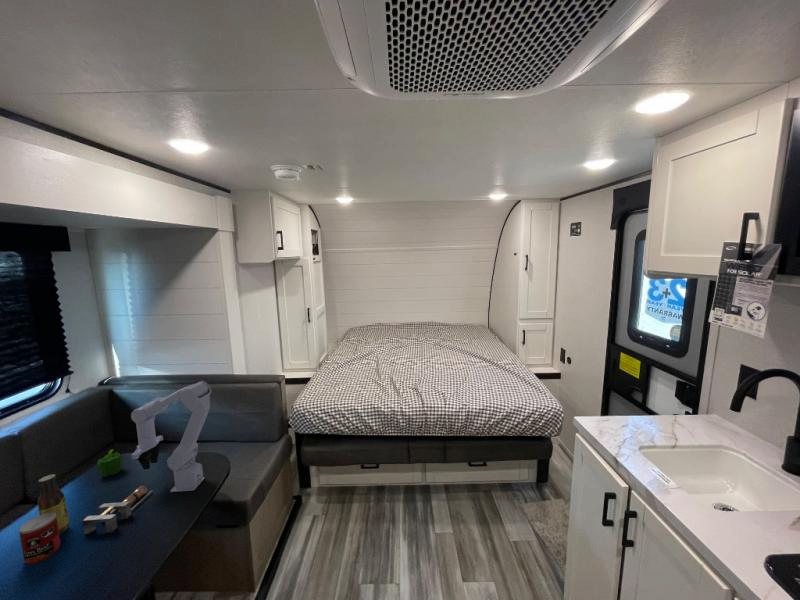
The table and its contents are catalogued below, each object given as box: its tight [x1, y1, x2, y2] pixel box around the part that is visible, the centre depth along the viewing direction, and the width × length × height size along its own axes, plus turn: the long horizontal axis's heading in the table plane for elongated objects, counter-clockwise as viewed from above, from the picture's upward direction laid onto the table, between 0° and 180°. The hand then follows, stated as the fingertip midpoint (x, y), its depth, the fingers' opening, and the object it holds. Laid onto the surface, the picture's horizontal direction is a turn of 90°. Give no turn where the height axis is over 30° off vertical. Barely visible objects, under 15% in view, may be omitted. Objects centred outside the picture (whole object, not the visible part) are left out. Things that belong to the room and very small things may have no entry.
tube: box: [117, 485, 148, 513], centre depth 123 cm, size 10×3×3 cm, turn 2°
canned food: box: [19, 512, 61, 565], centre depth 101 cm, size 8×8×11 cm
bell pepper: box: [97, 449, 123, 478], centre depth 143 cm, size 8×8×10 cm
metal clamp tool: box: [82, 489, 154, 535], centre depth 118 cm, size 9×20×5 cm, turn 2°
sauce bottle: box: [37, 473, 70, 535], centre depth 109 cm, size 7×6×20 cm
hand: (150, 465), depth 133 cm, fingers open, 4 cm apart
